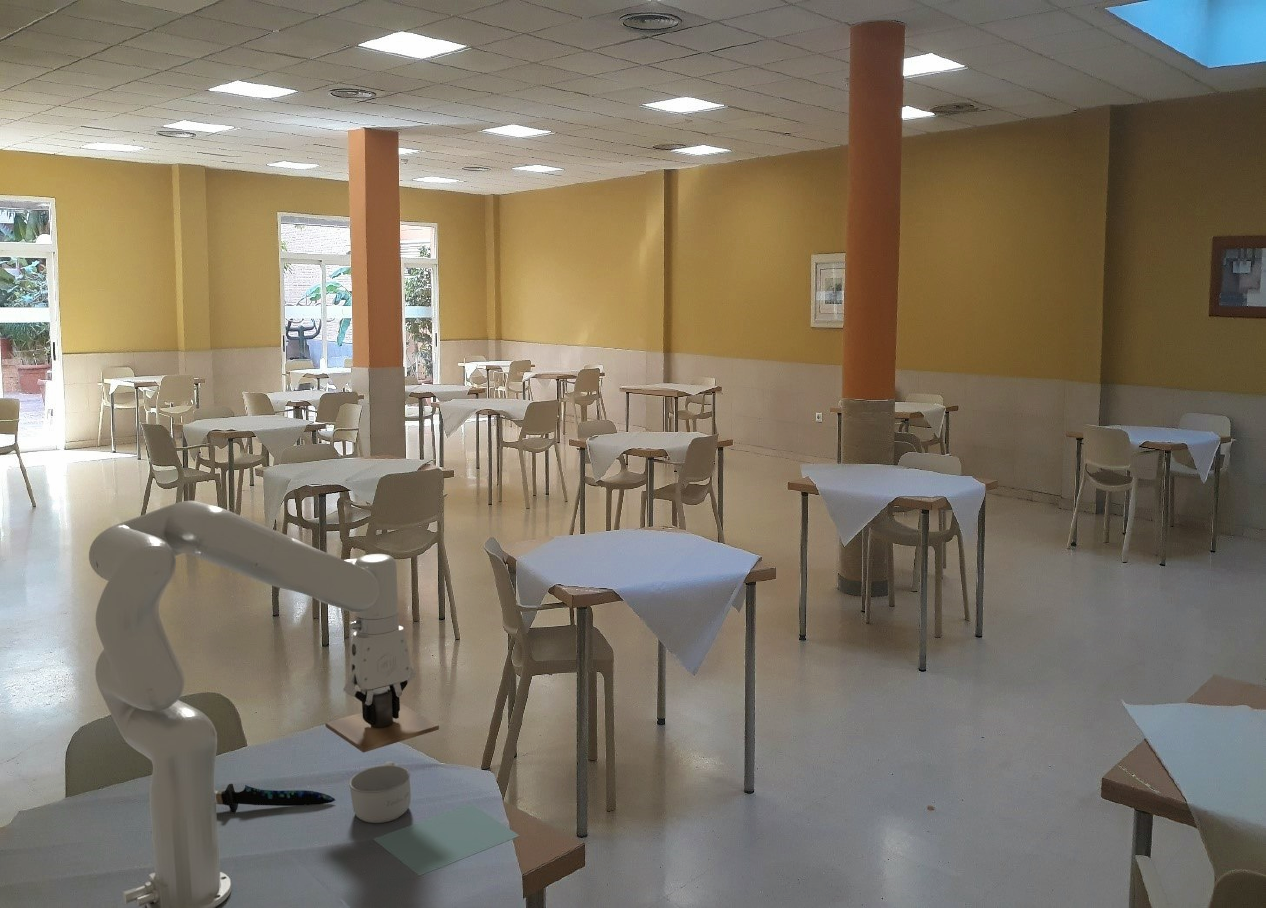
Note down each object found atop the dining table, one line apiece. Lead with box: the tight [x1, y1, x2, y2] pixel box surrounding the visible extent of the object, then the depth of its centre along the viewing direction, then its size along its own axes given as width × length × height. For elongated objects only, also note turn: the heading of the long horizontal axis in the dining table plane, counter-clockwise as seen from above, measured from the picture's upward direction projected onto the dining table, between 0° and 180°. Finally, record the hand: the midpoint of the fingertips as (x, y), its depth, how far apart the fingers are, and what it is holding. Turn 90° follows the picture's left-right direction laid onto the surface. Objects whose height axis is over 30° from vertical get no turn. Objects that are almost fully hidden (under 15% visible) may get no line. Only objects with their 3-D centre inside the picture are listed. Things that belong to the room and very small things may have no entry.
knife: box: [215, 783, 336, 813], centre depth 200 cm, size 31×3×4 cm, turn 94°
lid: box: [325, 688, 440, 753], centre depth 196 cm, size 15×15×7 cm
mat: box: [372, 803, 521, 877], centre depth 188 cm, size 20×16×1 cm
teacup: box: [348, 761, 412, 824], centre depth 198 cm, size 14×11×8 cm
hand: (381, 718), depth 196 cm, fingers closed on lid, 4 cm apart
